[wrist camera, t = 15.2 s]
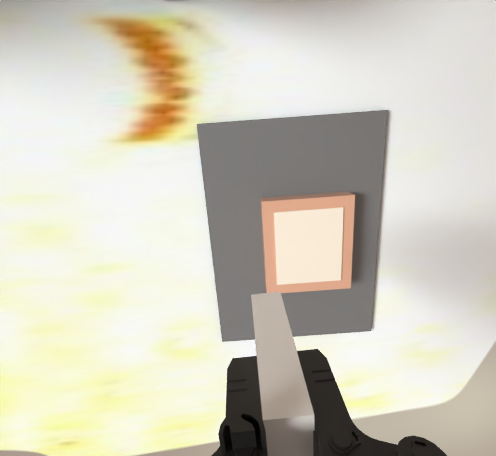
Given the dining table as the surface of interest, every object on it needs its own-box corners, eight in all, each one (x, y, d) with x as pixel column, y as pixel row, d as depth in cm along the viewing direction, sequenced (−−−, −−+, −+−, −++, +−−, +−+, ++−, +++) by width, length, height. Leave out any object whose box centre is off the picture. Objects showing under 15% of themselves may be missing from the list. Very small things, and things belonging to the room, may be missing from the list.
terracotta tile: (261, 202, 24) (355, 195, 24) (260, 197, 26) (348, 191, 26) (267, 295, 27) (351, 288, 27) (265, 285, 28) (344, 280, 28)
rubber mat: (197, 124, 24) (196, 124, 24) (385, 110, 24) (387, 110, 24) (222, 339, 31) (222, 341, 30) (369, 328, 31) (371, 330, 30)
